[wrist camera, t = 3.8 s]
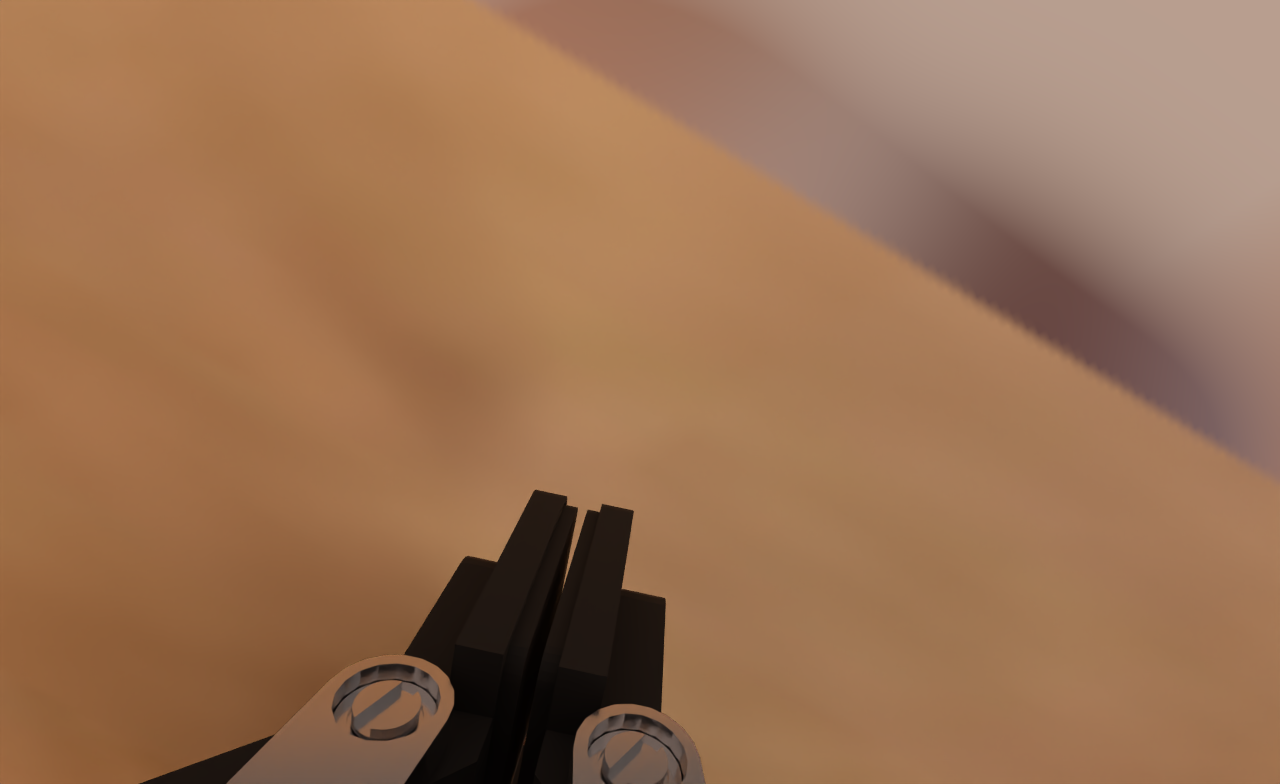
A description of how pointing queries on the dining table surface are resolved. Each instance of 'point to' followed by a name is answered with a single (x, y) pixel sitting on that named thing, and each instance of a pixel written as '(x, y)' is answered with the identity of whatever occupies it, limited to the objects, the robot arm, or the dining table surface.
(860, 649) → the dining table surface
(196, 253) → the dining table surface
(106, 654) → the dining table surface
